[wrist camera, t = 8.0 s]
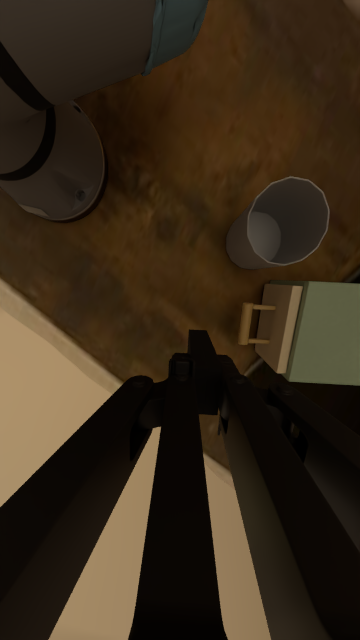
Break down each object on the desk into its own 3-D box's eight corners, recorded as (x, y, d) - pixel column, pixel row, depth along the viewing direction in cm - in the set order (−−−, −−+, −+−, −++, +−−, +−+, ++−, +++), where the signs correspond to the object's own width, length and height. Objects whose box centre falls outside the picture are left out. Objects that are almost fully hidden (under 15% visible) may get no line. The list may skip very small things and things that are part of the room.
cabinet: (258, 351, 33) (288, 381, 23) (270, 280, 30) (309, 281, 21) (340, 356, 33) (403, 388, 23) (360, 284, 30) (440, 288, 20)
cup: (258, 199, 27) (299, 156, 18) (290, 243, 29) (345, 225, 19) (214, 240, 29) (230, 221, 19) (246, 280, 30) (277, 281, 20)
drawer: (228, 348, 32) (242, 371, 24) (236, 282, 29) (254, 283, 22) (332, 354, 32) (379, 379, 24) (349, 288, 29) (408, 291, 21)
